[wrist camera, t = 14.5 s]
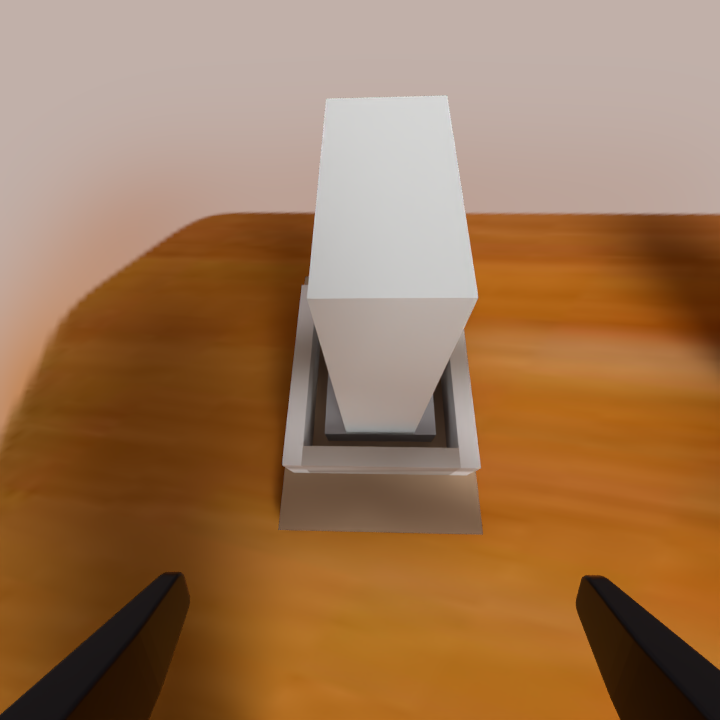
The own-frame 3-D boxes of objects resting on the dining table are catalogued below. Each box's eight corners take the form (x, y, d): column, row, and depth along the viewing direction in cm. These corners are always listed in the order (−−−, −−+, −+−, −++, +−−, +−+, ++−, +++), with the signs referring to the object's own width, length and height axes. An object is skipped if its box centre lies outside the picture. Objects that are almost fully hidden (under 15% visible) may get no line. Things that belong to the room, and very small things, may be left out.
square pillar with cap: (430, 441, 17) (537, 296, 6) (328, 440, 17) (251, 298, 6) (422, 315, 20) (481, 67, 9) (335, 315, 20) (291, 73, 9)
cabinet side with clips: (475, 533, 16) (501, 536, 13) (284, 529, 17) (262, 531, 13) (449, 287, 22) (462, 247, 19) (308, 288, 22) (297, 248, 19)
